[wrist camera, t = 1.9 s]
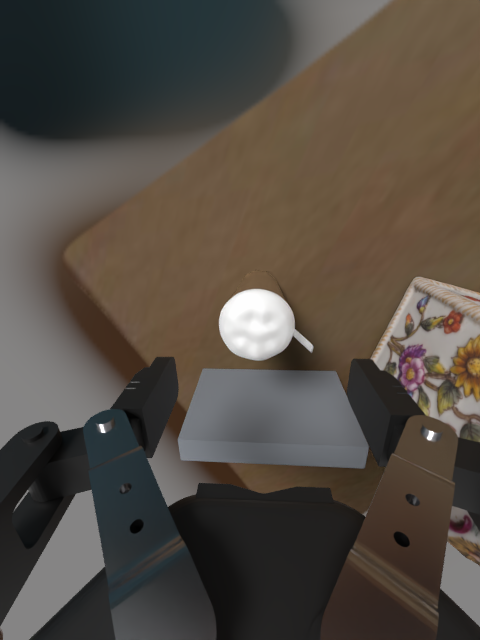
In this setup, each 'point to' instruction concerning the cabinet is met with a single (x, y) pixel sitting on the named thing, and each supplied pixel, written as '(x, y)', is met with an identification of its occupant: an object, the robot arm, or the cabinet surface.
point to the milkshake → (258, 319)
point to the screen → (272, 420)
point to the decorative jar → (439, 370)
